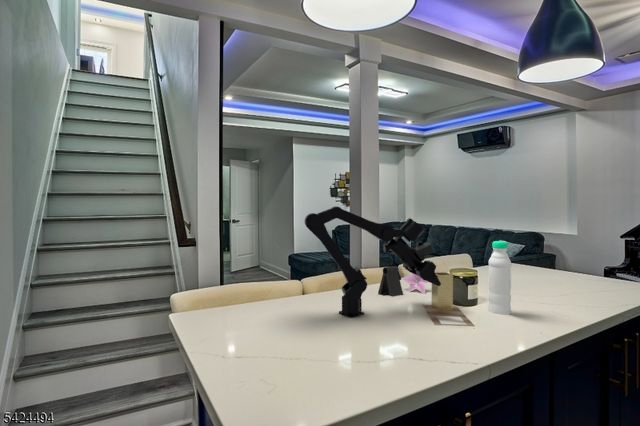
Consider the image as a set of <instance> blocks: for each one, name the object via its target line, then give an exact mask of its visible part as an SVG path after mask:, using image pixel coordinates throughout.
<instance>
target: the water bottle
mask: <svg viewBox="0 0 640 426" xmlns="http://www.w3.org/2000/svg"><path fill="white" fill-rule="evenodd" d="M491 246H492V249H493V252H492V253H491V255H490V257H489V259H488V273H487V275H488V277H487V279H488V280H487V281H488V284H487V285H488V294H487V295H488V296H487V297H488V303H487V304H488V305H487V310H488V312H491V313H493V314H497V315H511V313H512V310H511V309H512V306H511V301H512V295H511V289H512V270H511V269H512V268H511V267H512V262H511V259H510V257H509V255H508V252H507V250H508V248H509V247H508V242H507V241H502V240H495V241H494V240H493V242H492V245H491Z"/></svg>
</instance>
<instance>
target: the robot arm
mask: <svg viewBox="0 0 640 426" xmlns="http://www.w3.org/2000/svg"><path fill="white" fill-rule="evenodd" d="M335 219H338V220H340V221H343V222H345V223H347V224H350V225H353V226H354V227H356V228H359V229H361V230H364V231H366V232H367V233H369V234H370V235H371V236H372V237H375V238H376V239H378V240H380V241H382V242H385V243H383V244H382V245H383V250H382V251H383V252H385V253H386V254H387V253H388V252H390V251H391V252H392V253H393V254H394V255H395V256H396V257H397V258H398V260H399V261H400V262H402V267H403V268H404V269H405V270H406V271H407V272H408V273H410V272H411V273H413V274H415V275H417V276H419V277H420V278H421V279H423V280H425V281H428V282H430V283H429V284H432V283H433V284H435V285H437V286H440V285H441V283H440V281H439V279H438V278H437V276H436V274H435V272H436V269H437V265H436V263H434V262H433V261H430V260H426V258H425V257H427V256H429V255H430V254H431V255H432V254H434V253H435V252H436V251H435V249H434V247H433V244H432V243H430V242H423V241H418V242H416V245H415V248H413V247H411V246H410V245H409V244H408V243H410V242H412V243H414V242H415V241H416V240H418V239H419V237H420V236H421V235H422V234H423V233H424V232H425V228H424V227H423V226H422V225H421V224H420V223H418V222H416V221H414V219H412V217H411V218H410V217H409V218H408V219H407V220H406V221H405V222H404V223H403V225H401V226H400V228H396V227H393V226H391V225H389V224H385V223H379V222H376V221H371V220H369V219H367V218H365V217H362V216H360V215H357V214H355V213H352V212H351V211H347V210H345V209H343V208H342V207H340V206H336V205H335V206H332V207H331V208H329V209H326V210H323V211H320V212H317V213H314V212H312V213H311V212H310V213H308V214H307V215H306V216H305V217H304V221H303V222H304V224H305V227H306V228H307V229H308V230H309V231H310V232H311V233H312V234H313V235H314V236H315V237H316V238H317V239H318V240H319V241H320V242H321V244H322V245H323V247H324V248H325V249H326V251H327V252H328V253H329V255H330V257H331V258H332V259H333V260H334V262H335V263H336V265H337V267H338V268H339V269H340V271H341V273H342V274H343V277H344V279H345V281H346V282H345V284H343V286H342V287H341V290H342V293H343V295H342V296H341V310H339V311H338V313H339V314H340V315H344V316H346V317H349V318H354V317H358V316H360V315H361V316H362V315H364V314H365V311H362V304H363V303H362V300H363V299H362V295H363V293H364V292H366V290H367V288H368V282H367V279H368V278H367V277H366V276H365V274H364V275H363V273H362V271H361V269H360V268H359V266H355V267H353V266H352V265H351V263H350V262H349V260H348V259H347V258H346V257H345V255H344V254H343V252H342V251H341V249H340V248H339V247H338V245H337V244H336V242H335V241H334V239H333V238H332V237H331V235H330V234H329V232H328V229H327V227H326V225H325V224H326V223H330V222H332V221H333V220H335ZM386 242H387V243H386Z"/></svg>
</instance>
